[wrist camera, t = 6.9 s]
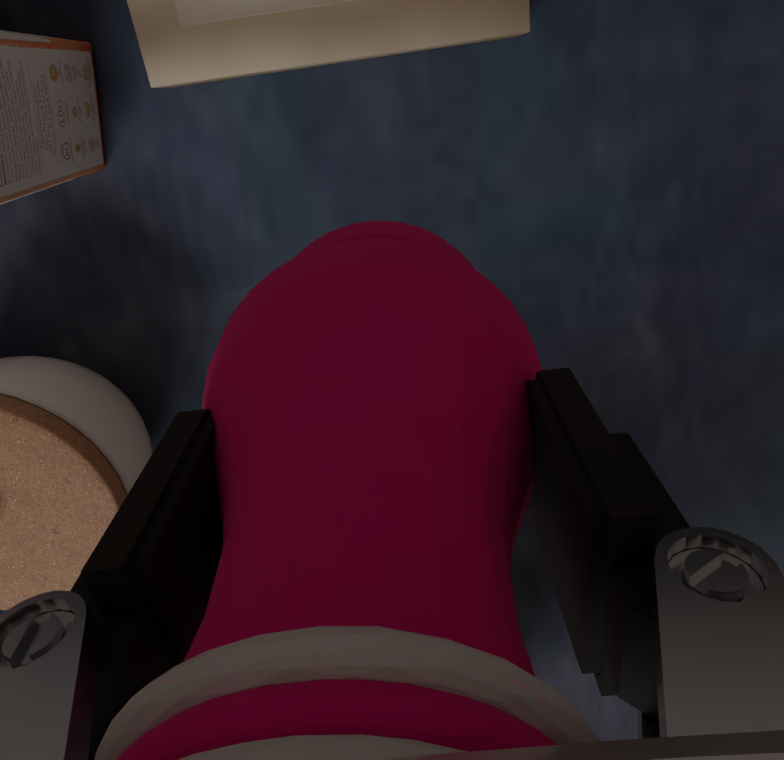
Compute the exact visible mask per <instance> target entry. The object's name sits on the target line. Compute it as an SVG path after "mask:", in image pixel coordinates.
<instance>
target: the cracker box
mask: <svg viewBox="0 0 784 760" xmlns="http://www.w3.org/2000/svg"><path fill="white" fill-rule="evenodd" d="M104 167H105V163H104V155H103V144H102V135H101V126H100V116H99V108H98V99H97V91H96V82H95V72H94V65H93V56H92V45H91V44H90V43H89V42H84V41H77V40H69V39H62V38H55V37H48V36H40V35H33V34H26V33H18V32H11V31H3V30H0V205H1V204H4V203H7V202H10V201H13V200H15V199H18V198H21V197H24V196H27V195H30V194H33V193H36V192H38V191H41V190H44V189H47V188H50V187H53V186H55V185H58V184H61V183H64V182H67V181H70V180H72V179H75V178H77V177H80V176H84V175H87V174H90V173H93V172H96V171H99V170H101V169H103V168H104Z"/></svg>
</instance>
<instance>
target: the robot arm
mask: <svg viewBox="0 0 784 760" xmlns="http://www.w3.org/2000/svg"><path fill="white" fill-rule="evenodd" d="M526 390H527V396H528V403H529V411H530V418H531V427H532V438H533V450H534V482H533V490H532V497H531V501H530V503H529V509H530V514H531V518H532V521H533V524H534V527H535V530H536V533H537V536H538V539H539V543H540V546H541V549H542V552H543V555H544V558H545V561H546V564H547V567H548V571H549V574H550V577H551V580H552V583H553V586H554V589H555V592H556V596H557V599H558V602H559V605H560V608H561V611H562V614H563V617H564V621H565V624H566V627H567V630H568V633H569V636H570V639H571V642H572V646H573V649H574V652H575V655H576V658H577V661H578V664H579V667H580V670H581V671H582V673H583V674H589V673H594V675H595V678H596V681H597V684H598V687H599V690H600V693H601V696H610V695H618V697H619V698H621V699H622V700H624V701H625V702H627V703H629V704H630V705H632V706H633V707H635V708H636V709H638V733H639V739H629V740H616V741H603V742H590V743H577V744H563V745H550V746H537V747H524V748H511V749H498V750H485V751H472V752H459V753H446V754H433V755H421V756H408V757H397V758H390V759H384V760H784V578H783V575H782V573H781V571H780V569H779V567H778V565H777V564H776V562H775V560H774V559H773V558H772V557H771V556H769V555H768V554H767V553H766V552H765V551H764V550H763V549H762V548H761V547H759V546H758V545H756V544H754V543H753V542H751V541H750V540H748V539H746V538H744V537H741V536H739V535H736V534H734V533H731V532H729V531H724V530H719V529H715V528H710V527H690V526H689V525H688V523H687V522H686V520H685V518H684V517H683V515H682V514H681V512H680V511H679V509H678V508H677V506H676V505H675V503H674V502H673V500H672V499H671V497H670V496H669V494H668V493H667V491H666V490H665V488H664V487H663V485H662V484H661V482H660V481H659V479H658V478H657V476H656V475H655V473H654V472H653V470H652V468H651V467H650V465H649V464H648V462H647V461H646V459H645V458H644V456H643V455H642V453H641V452H640V450H639V449H638V447H637V446H636V444H635V443H634V441H633V440H632V438H631V437H630V436H629V435H628V434H627V433H614V434H609V433H608V431H607V430H606V428H605V426H604V425H603V423H602V421H601V420H600V418H599V417H598V415H597V413H596V412H595V410H594V408H593V407H592V405H591V403H590V402H589V400H588V398H587V397H586V395H585V393H584V392H583V390H582V388H581V387H580V385H579V384H578V382H577V380H576V379H575V377H574V375H573V374H572V372H571V370H570V369H569V368H561V369H552V370H543V371H537V372H536V377H535V379H533V380H526ZM209 415H210V409H202V410H194V411H185V412H178V413H177V415H176V416H175V418H174V419H173V421H172V422H171V424H170V426H169V427H168V429H167V431H166V432H165V434H164V436H163V437H162V439H161V441H160V442H159V444H158V445H157V447H156V449H155V450H154V452H153V454H152V455H151V457H150V459H149V460H148V462H147V464H146V465H145V467H144V468H143V470H142V472H141V473H140V475H139V477H138V478H137V480H136V482H135V483H134V485H133V487H132V488H131V490H130V491H129V493H128V495H127V496H126V498H125V500H124V501H123V503H122V505H121V506H120V508H119V510H118V511H117V513H116V514H115V516H114V518H113V519H112V521H111V523H110V524H109V526H108V528H107V529H106V531H105V533H104V534H103V536H102V537H101V539H100V541H99V542H98V544H97V546H96V547H95V549H94V551H93V552H92V554H91V556H90V557H89V559H88V560H87V562H86V564H85V565H84V567H83V569H82V570H81V574H80V575H79V577H78V579H77V580H76V582H75V584H74V585H73V587H72V589H71V590H70V591H60V590H55V591H51V592H46V593H42V594H38V595H36V596H33V597H31V598H28V599H26V600H24V601H22V602H20V603H18V604H17V605H15V606H13V607H12V608H10V609H8V610H7V611H5V612H4V613H3V614H1V615H0V760H94V758H95V755H96V751H97V749H98V747H99V745H100V743H101V741H102V739H103V737H104V735H105V733H106V731H107V729H108V727H109V725H110V723H111V721H112V720H113V718H114V717H115V716H116V715H117V714H118V713H119V712H120V710H121V709H122V708H123V707H124V706H125V705H126V704H127V702H128V701H129V700H130V699H131V698H132V697H133V696H134V695H135V694H136V693H138V692H139V691H140V690H141V689H142V688H144V687H145V686H146V685H147V684H149V683H150V682H152V681H153V680H155V679H157V678H158V677H160V676H161V675H163V674H164V673H166V672H167V671H169V670H170V669H172V668H173V667H175V666H176V665H178V664H181V663H183V662H184V659H185V657H186V655H187V653H188V651H189V649H190V646H191V644H192V642H193V640H194V638H195V636H196V633H197V631H198V629H199V627H200V625H201V623H202V620H203V618H204V616H205V613H206V609H207V606H208V602H209V598H210V594H211V591H212V587H213V583H214V579H215V576H216V572H217V568H218V564H219V561H220V557H221V553H222V549H223V523H222V517H221V512H220V504H219V494H218V486H217V478H216V470H215V420H214V418H213V417H212V416H209Z"/></svg>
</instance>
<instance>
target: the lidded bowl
mask: <svg viewBox="0 0 784 760" xmlns="http://www.w3.org/2000/svg"><path fill="white" fill-rule="evenodd" d="M151 455H152V446H151V441H150V437H149V434H148V431H147V429H146V426H145V424H144V421H143V419H142V417H141V415H140V414H139V412H138V410H137V409H136V407H135V406H134V404H133V403H132V402H131V401H130V400H129V398H128V397H127V396H126V395H125V394H124V393H123V392H122V391H121V390H120V389H119V388H118V387H117V386H116V385H114V384H113V383H111V382H110V381H109V380H107V379H106V378H105V377H103V376H101V375H100V374H98V373H96V372H94V371H92V370H90V369H88V368H86V367H83V366H81V365H78V364H76V363H73V362H69V361H65V360H61V359H56V358H50V357H42V356H14V357H6V358H0V610H8V609H10V608H12V607H13V606H15V605H17V604H18V603H20V602H22V601H24V600H26V599H28V598H31V597H33V596H36V595H38V594H42V593H46V592H51V591H55V590H60V591H70V590H71V589H72V587H73V585H74V584H75V582H76V580H77V579H78V577H79V575H80V574H81V570H82V569H83V567H84V565H85V564H86V562H87V560H88V559H89V557H90V556H91V554H92V552H93V551H94V549H95V547H96V546H97V544H98V542H99V541H100V539H101V537H102V536H103V534H104V533H105V531H106V529H107V528H108V526H109V524H110V523H111V521H112V519H113V518H114V516H115V514H116V513H117V511H118V510H119V508H120V506H121V505H122V503H123V501H124V500H125V498H126V496H127V495H128V493H129V491H130V490H131V488H132V487H133V485H134V483H135V482H136V480H137V478H138V477H139V475H140V473H141V472H142V470H143V468H144V467H145V465H146V464H147V462H148V460H149V459H150V457H151Z"/></svg>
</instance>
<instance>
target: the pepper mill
mask: <svg viewBox="0 0 784 760" xmlns="http://www.w3.org/2000/svg"><path fill="white" fill-rule="evenodd" d="M537 371H542V368H541V365H540V362H539V358H538V355H537V351H536V348H535V345H534V343H533V340H532V338H531V336H530V334H529V331H528V329H527V327H526V324H525V323H524V321H523V320H522V318H521V317H520V315H519V314H518V312H517V311H516V309H515V307H514V306H513V304H512V303H511V302H510V301H509V300H508V299H507V298H506V297H505V295H504V294H503V293H502V292H501V291H500V290H499V289H498V288H497V287H496V286H495V285H494V284H493V283H492V282H491V281H489V280H488V279H487V278H485V277H484V276H483V275H482V274H480V273H479V272H478V271H476V270H475V269H474V268H473V266H472V265H471V264H470V263H469V261H468V260H467V259H466V258H465V257H464V256H463V255H462V254H461V253H460V252H459V251H458V250H456V249H455V248H454V247H453V246H451V245H450V244H449V243H447V242H446V241H445V240H443V239H442V238H441V237H439V236H437V235H435V234H433V233H431V232H429V231H426V230H424V229H422V228H419V227H416V226H412V225H408V224H404V223H400V222H391V221H368V222H361V223H355V224H351V225H348V226H345V227H342V228H339V229H337V230H334V231H331V232H329V233H327V234H325V235H324V236H322V237H320V238H319V239H317V240H315V241H314V242H312V243H310V244H309V245H308V246H307V247H306V248H305V249H303V250H302V251H301V252H300V253H299V254H298V255H297V256H296V257H295V258H293V259H292V260H290V261H288V262H287V263H285V264H283V265H282V266H280V267H278V268H277V269H275V270H274V271H273V272H271V273H270V274H269V275H268V276H267V277H266V278H264V279H263V280H262V281H261V282H260V283H259V284H258V285H256V286H255V287H254V288H253V289H252V290H251V291H250V292H249V293H248V294H247V295H246V297H245V298H244V299H243V301H242V302H241V303H240V305H239V306H238V307H237V309H236V310H235V311H234V313H233V314H232V315H231V317H230V319H229V321H228V323H227V326H226V328H225V330H224V332H223V335H222V337H221V339H220V341H219V344H218V346H217V348H216V351H215V353H214V355H213V358H212V360H211V362H210V365H209V367H208V372H207V377H206V383H205V388H204V394H203V409H210V415H209V416H212V417H213V418H214V420H215V470H216V478H217V486H218V494H219V504H220V512H221V517H222V523H223V549H222V553H221V557H220V561H219V564H218V568H217V572H216V576H215V579H214V583H213V587H212V591H211V594H210V598H209V602H208V606H207V609H206V613H205V616H204V618H203V620H202V623H201V625H200V627H199V629H198V631H197V633H196V636H195V638H194V640H193V642H192V644H191V646H190V649H189V651H188V653H187V655H186V657H185V659H184V662H183V663H181V664H178V665H176V666H175V667H173V668H172V669H170V670H169V671H167V672H166V673H164V674H163V675H161V676H160V677H158V678H157V679H155V680H153V681H152V682H150V683H149V684H147V685H146V686H145V687H144V688H142V689H141V690H140V691H139V692H138V693H136V694H135V695H134V696H133V697H132V698H131V699H130V700H129V701H128V702H127V704H126V705H125V706H124V707H123V708H122V709H121V710H120V712H119V713H118V714H117V715H116V716H115V717H114V718H113V720H112V721H111V723H110V725H109V727H108V729H107V731H106V733H105V735H104V737H103V739H102V741H101V743H100V745H99V747H98V749H97V751H96V755H95V758H94V760H384V759H390V758H397V757H408V756H421V755H433V754H446V753H459V752H472V751H485V750H498V749H511V748H524V747H537V746H550V745H563V744H577V743H590V742H600V741H599V739H598V738H597V736H596V735H595V733H594V732H593V731H592V729H591V728H590V727H589V725H588V724H587V722H586V721H585V720H584V718H583V717H582V716H581V714H580V713H579V711H578V710H577V709H576V708H575V707H574V706H573V705H571V704H570V703H569V702H568V701H567V700H566V699H565V698H564V697H563V696H562V695H561V694H560V693H558V692H557V691H555V690H554V689H552V688H551V687H549V686H548V685H546V684H545V683H543V682H542V681H540V680H539V679H537V678H536V677H535V674H534V671H533V668H532V666H531V663H530V660H529V657H528V654H527V651H526V648H525V645H524V642H523V639H522V636H521V633H520V630H519V624H518V617H517V611H516V605H515V599H514V592H513V586H512V580H511V574H510V569H511V557H512V550H513V547H514V543H515V540H516V537H517V534H518V532H519V529H520V527H521V524H522V521H523V519H524V516H525V514H526V511H527V508H528V506H529V503H530V501H531V497H532V490H533V482H534V450H533V438H532V427H531V418H530V411H529V403H528V396H527V390H526V380H533V379H535V377H536V372H537Z"/></svg>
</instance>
